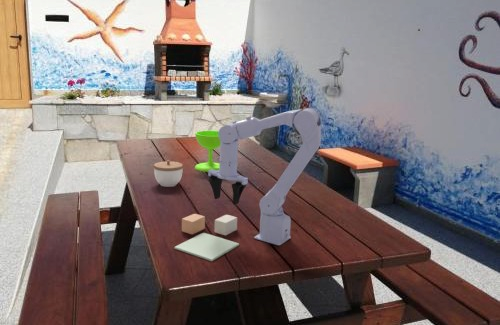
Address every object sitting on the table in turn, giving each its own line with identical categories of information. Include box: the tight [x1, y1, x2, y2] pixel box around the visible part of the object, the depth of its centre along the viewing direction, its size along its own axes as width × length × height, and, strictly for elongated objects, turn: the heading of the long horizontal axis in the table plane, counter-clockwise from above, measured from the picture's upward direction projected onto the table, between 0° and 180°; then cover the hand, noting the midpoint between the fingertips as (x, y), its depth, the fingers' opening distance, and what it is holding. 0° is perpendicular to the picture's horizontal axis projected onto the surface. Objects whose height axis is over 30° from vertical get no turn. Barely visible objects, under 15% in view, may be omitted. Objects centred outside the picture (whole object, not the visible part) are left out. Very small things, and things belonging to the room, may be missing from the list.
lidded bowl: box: [153, 159, 184, 188], centre depth 199 cm, size 13×13×11 cm
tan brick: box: [181, 213, 206, 235], centre depth 150 cm, size 4×6×4 cm
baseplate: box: [174, 232, 240, 262], centre depth 138 cm, size 14×14×1 cm
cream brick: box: [214, 214, 238, 236], centre depth 150 cm, size 4×6×4 cm
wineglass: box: [194, 130, 221, 173], centre depth 230 cm, size 16×16×18 cm
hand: (226, 201), depth 148 cm, fingers open, 7 cm apart
